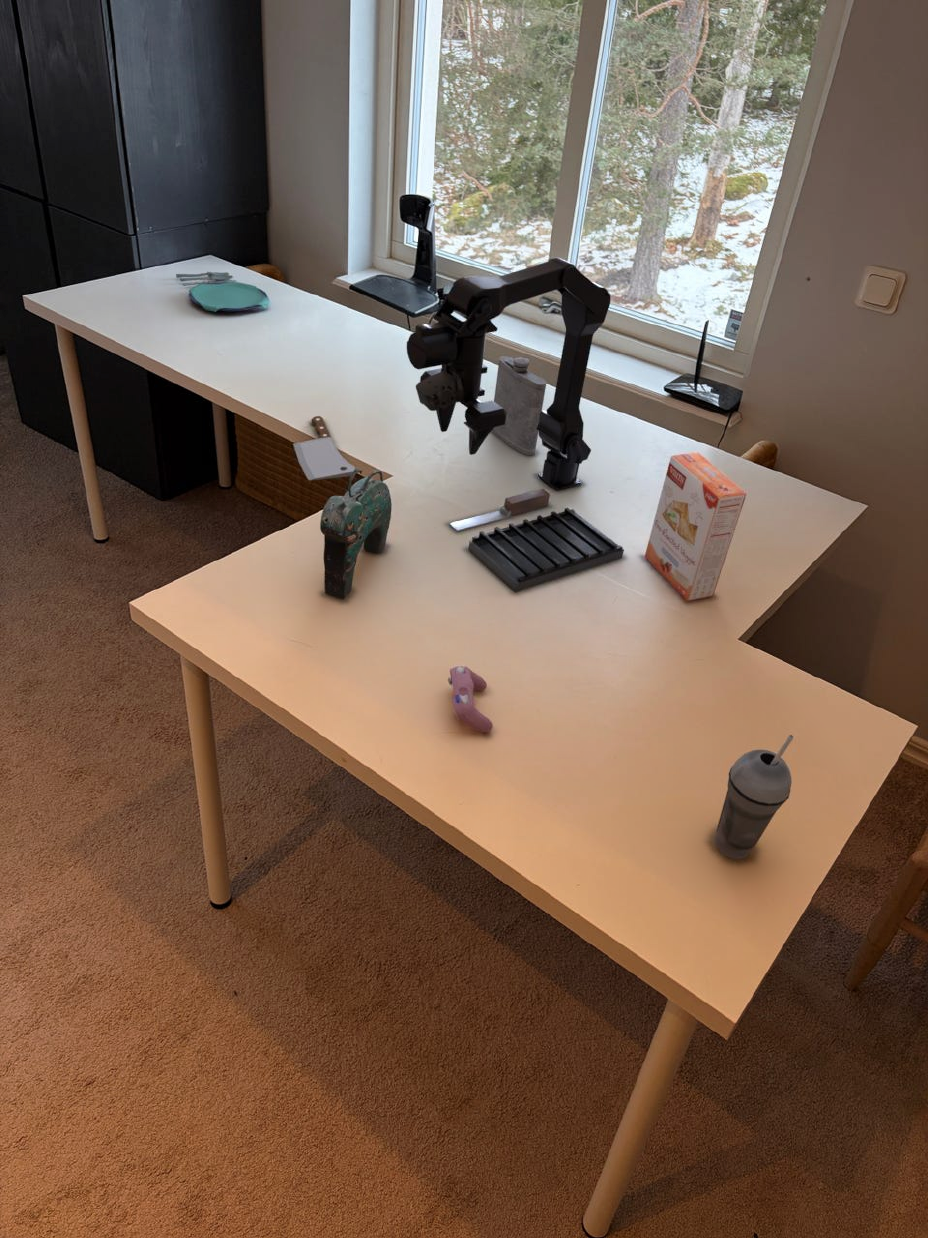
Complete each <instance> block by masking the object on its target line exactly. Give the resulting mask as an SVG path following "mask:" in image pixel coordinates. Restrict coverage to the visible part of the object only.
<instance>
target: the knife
mask: <svg viewBox="0 0 928 1238" xmlns="http://www.w3.org/2000/svg"><path fill="white" fill-rule="evenodd" d="M550 497H551V493H550V492H548V491H547V490H546V489H545V488H540V489H535V490H532V491H528V492H524V493H520V494H516V495H513V496H508V497H505V498H504V505H500V506H499V510H494V511H491V512H488V513H484V514H480V515H476V516H472V517H469V518H465V519H461V520H458V521H453V522H450V523H449V526H450V527H451V528H452V529H454V530H455V531H456V532H457V533H458V532H461V531H466V530H469V529H472V528H473V529H474V528H476V527H480V526H483V525H487V524H491V523H494V522H498V521H503V520H506V519H509V518H511V517H514V516H518V515H522V514H526V513H529V512H532V511H537V510H539V509H543V508H547V507H549V500H550Z"/></svg>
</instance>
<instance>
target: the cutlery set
mask: <svg viewBox="0 0 928 1238" xmlns="http://www.w3.org/2000/svg"><path fill="white" fill-rule="evenodd" d="M203 276H208V277H203ZM175 278H177V279H179V281H180V282H189V281H202V282H195V283H183V284H182V286H183V287H184V288H185V287H186V286H193V287H191V288H190V289H188V292H189V293H188V297H189V298H190V301H191V302H193V303H194V304H195V305H197V306H200V307H202V308H203V309H204V310H206V311H210V312H214V313H217V311H222V312H243V311H250V310H253V309H254V310H255V309H256V308H259V307H261V306H262V307H263V310H266V309H267V308H268V306H269V305H270V298H269V297H268V295H267V293H266V292H265V291H263V290H262V289H260V288H258V287H257V286H256V285H253V284H249V283H243V282H240V281H237V279H235V280H234V279H233V278H234V276H233V275H230V273H229V272H228V271H225V272H215V271H206V272H202V273H176V274H175ZM231 279H233V280H231ZM206 280H207V281H206Z"/></svg>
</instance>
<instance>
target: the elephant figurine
mask: <svg viewBox="0 0 928 1238" xmlns="http://www.w3.org/2000/svg"><path fill="white" fill-rule="evenodd" d="M358 473H359V474H360V475H361V474H362V473H363V469H360V468H357V469H355V471H354V472H353V473H352V475H351V476H349V479H348V486H347V491H346V492H345V494H344V495H333V496H331V497H329V498H328V500H327V501H326V503H325V504H324V507H323V508H322V512H321V516H320V522H319V523H320V524H319V525H320V526H319V529H320V533H321V534H322V535H323V536H324V537H323V539H324V542H323V543H324V545H323V548H324V549H323V566H324V573H323V574H324V575H323V576H324V577H323V579H324V580H323V583H324V594H325V595H329V596H331V597H333V598H337V599H341V600H345V599H346V598H347V596H348V595H349V594H350V593H351V592H352V587H353V581H354V576H355V575H354V574H355V569H356V565H357V562H358V557H359V553H360V551H361V549H362V548H363V551H366V552H370V553H372V554H381V553H382V552H383V551H384V550H385V548H386V544H387V537H388V533H389V528H390V524H391V519H392V508H393V507H392V506H393V504H392V498H391V497H392V496H391V493H390V489H389V486H388V485H387V484H386V482H384V479H383V472H382V470H379V469H377V470H374V471H372V472H371V473H370V474H369V475H368V476H367V477H363V478H360V479H359V480H358V481H356V482H355V483H354V484H352V482H353V480H354V478H355V476H356V474H358ZM377 474H379V479H376V478H372V477H373V476H376V475H377ZM351 484H352V485H351Z"/></svg>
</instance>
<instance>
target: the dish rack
mask: <svg viewBox="0 0 928 1238" xmlns="http://www.w3.org/2000/svg"><path fill="white" fill-rule="evenodd" d="M493 528H494V529H493V531H490V532H485V531H483V530H481V531H479V533H478V535H475V536H472V538H471V540H469V541H468V547H467V548H468V549H467V550H468V552H470V553H471V554H472V555H473V556H474V557H476V559H478V560H479V561H480V562H481V563H482V564H483V565H484V566H486V568H487V569H489V571H491V572H492V573H493V574H494V575H495V576H496V577H497V578H498V579H500V580H501V581H502V582H503V583H504V584H505V585H506V586H507V587H509V588H510V589H511V590H512V591H513V592H514V593H517V592H521V591H524V590H527V589H531V588H534V587H537V586H539V585H542V584H546V583H549V582H552V581H555V580H558V579H561V578H565V577H567V576H570V575H574V574H576V573H580V572H582V571H586V570H589V569H592V568H595V567H598V566H601V565H604V564H607V563H611V562H614V561H616V560H620V559H623V556H624V552H625V549H624V548H623V546H622V545H619V544H618V543H616V542H615V541H614V540H613V539H611V538H610V537H608V535H606V534H605V533H603V532H602V531H601V530H599V529H598V528H596V526H594V525H593V524H592V523H590V522H589V521H587V520H586V519H585V518H584V517H582V516H581V515H580V514H578V513H577V512H576V510H575V509H574V508H572V509H570V508H569V507H565V508H564V509H563V511H561V512H558V513H557V512H555V511H551V512H550V515H546V516H542V515H541V514H539V515H537V516H536V518H535V519H532V520H528V519H527V518H525V519H523V520H522V523H518V524H514V523H513V522H510V523H509V524H508V526H507V527H504V528H499V526H496V527H493Z"/></svg>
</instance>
